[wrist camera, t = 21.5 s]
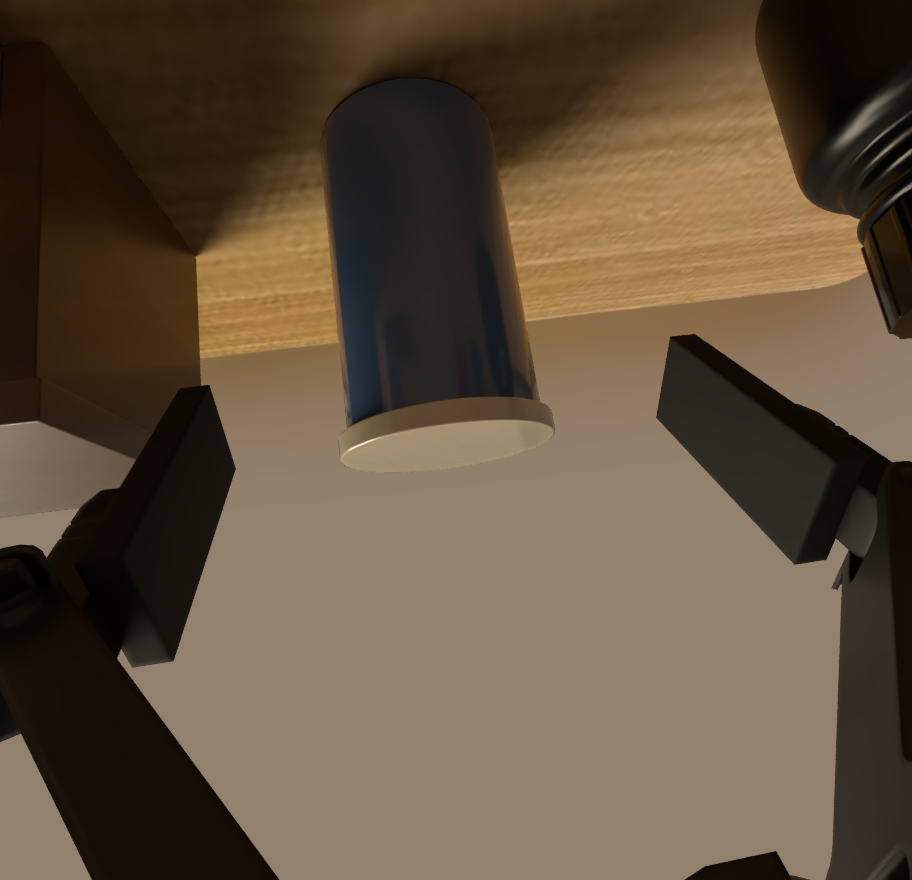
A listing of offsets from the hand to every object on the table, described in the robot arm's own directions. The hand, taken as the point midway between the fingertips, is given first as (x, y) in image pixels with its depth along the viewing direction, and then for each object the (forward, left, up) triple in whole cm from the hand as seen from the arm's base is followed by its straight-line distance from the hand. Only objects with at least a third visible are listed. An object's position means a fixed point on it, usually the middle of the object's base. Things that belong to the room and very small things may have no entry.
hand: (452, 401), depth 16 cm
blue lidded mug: (0, -6, -13) cm, 14 cm away
